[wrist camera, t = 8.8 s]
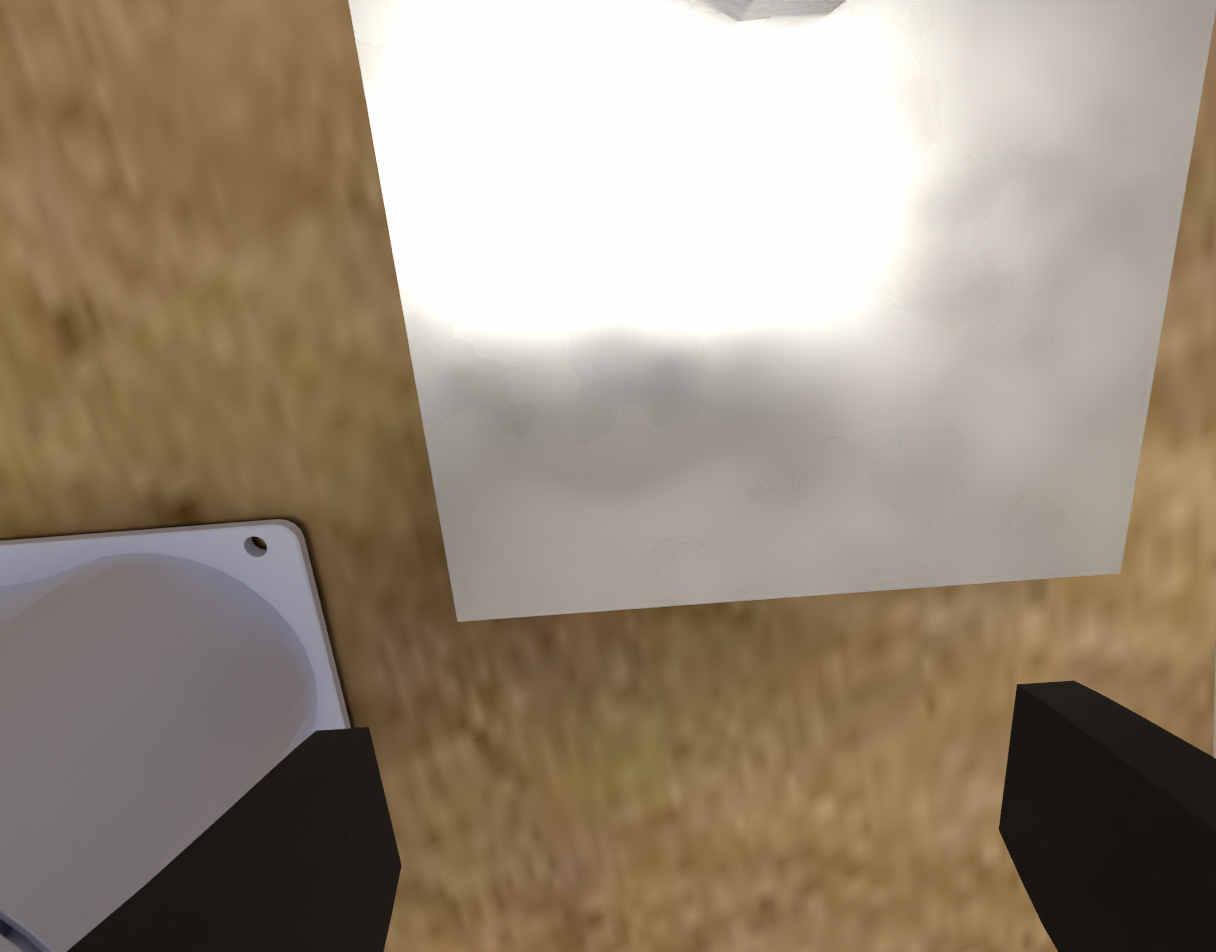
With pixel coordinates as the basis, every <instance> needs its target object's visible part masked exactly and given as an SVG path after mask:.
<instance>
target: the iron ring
mask: <svg viewBox="0 0 1216 952" xmlns="http://www.w3.org/2000/svg"><path fill="white" fill-rule="evenodd" d="M700 1H702V2H704V3H706V4H707V5H709V6H711V7H713V8H715V9H716V10H718V11H720V12H722V13H724V14H725V15H727V16H729V17H731V18H733V19H734V20H736V21H737V22H739V21H749V20H759V19H770V18H780V17H791V16H801V15H811V14H822V13H832V12H833V11H834V10H835V9H836V8H837V7H839V6H840V5H841V4H843V3H844V2H845V1H847V0H700Z"/></svg>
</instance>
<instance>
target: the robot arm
mask: <svg viewBox="0 0 1216 952" xmlns="http://www.w3.org/2000/svg"><path fill="white" fill-rule="evenodd" d="M252 536H255V537H259V538H261V539H262V540H264V541H265V543H266V545H267V550H264V549H259V548H258V547H256V546H255V545H254V543H253V541H252ZM999 831H1000V833H1001V836H1002V838H1003V840H1004V842H1005V845H1006V847H1007V849H1008V851H1009V854H1010V856H1011V858H1012V860H1013V863H1014V865H1015V867H1016V869H1017V871H1018V874H1019V876H1020V878H1021V880H1022V883H1023V885H1024V887H1025V889H1026V891H1027V893H1028V895H1029V897H1030V899H1031V901H1032V903H1033V906H1034V908H1035V910H1036V912H1037V914H1038V916H1039V918H1040V920H1041V922H1042V924H1043V926H1044V928H1045V930H1046V931H1047V933H1048V935H1049V937H1050V938H1051V940H1052V942H1053V943H1054V945H1055V947H1056V948H1057V950H1058V952H1216V759H1215V758H1214V757H1212V756H1210V755H1208V754H1207V753H1205V752H1203V751H1201V750H1200V749H1198V748H1196V747H1194V746H1193V745H1191V744H1189V743H1187V742H1186V741H1184V740H1182V739H1180V738H1179V737H1177V736H1175V735H1173V734H1172V733H1170V732H1168V731H1166V730H1164V729H1163V728H1161V727H1159V726H1157V725H1156V724H1154V723H1152V722H1150V721H1149V720H1147V719H1145V718H1143V717H1141V716H1140V715H1138V714H1136V713H1134V712H1133V711H1131V710H1129V709H1127V708H1125V707H1124V706H1122V705H1120V704H1118V703H1116V702H1114V701H1113V700H1111V699H1109V698H1107V697H1105V696H1103V695H1101V694H1099V693H1098V692H1096V691H1094V690H1092V689H1090V688H1088V687H1086V686H1084V685H1082V684H1080V683H1078V682H1076V681H1063V682H1048V683H1032V684H1017V689H1016V697H1015V705H1014V713H1013V721H1012V729H1011V737H1010V745H1009V753H1008V761H1007V769H1006V777H1005V785H1004V793H1003V801H1002V809H1001V817H1000V825H999ZM400 870H401V861H400V857H399V853H398V849H397V844H396V840H395V836H394V832H393V827H392V823H391V819H390V815H389V810H388V806H387V802H386V798H385V794H384V789H383V785H382V781H381V777H380V772H379V768H378V764H377V760H376V756H375V751H374V747H373V743H372V739H371V734H370V730H369V727H363V728H351V726H350V722H349V718H348V714H347V710H346V706H345V701H344V697H343V693H342V689H341V685H340V681H339V677H338V673H337V669H336V665H335V661H334V657H333V653H332V648H331V644H330V640H329V636H328V632H327V628H326V624H325V620H324V616H323V612H322V608H321V604H320V600H319V595H318V591H317V587H316V583H315V579H314V575H313V571H312V567H311V563H310V559H309V555H308V551H307V547H306V543H305V538H304V536H303V534H302V531H301V530H300V529H299V528H298V527H297V526H296V525H295V524H294V523H292V522H290V521H288V520H281V519H274V520H261V521H248V522H235V523H223V524H210V525H197V526H184V527H171V528H158V529H146V530H133V531H120V532H107V533H94V534H82V535H69V536H56V537H43V538H30V539H17V540H5V541H0V952H383V951H384V947H385V942H386V938H387V933H388V929H389V924H390V920H391V915H392V910H393V905H394V900H395V895H396V890H397V885H398V880H399V875H400Z"/></svg>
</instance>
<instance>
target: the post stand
mask: <svg viewBox="0 0 1216 952" xmlns="http://www.w3.org/2000/svg"><path fill="white" fill-rule="evenodd" d="M349 6H350V11H351V17H352V23H353V29H354V34H355V40H356V46H357V51H358V57H359V63H360V68H361V74H362V80H363V86H364V91H365V97H366V103H367V108H368V114H369V120H370V126H371V131H372V137H373V143H374V148H375V154H376V160H377V165H378V171H379V177H380V183H381V188H382V194H383V200H384V205H385V211H386V217H387V222H388V228H389V234H390V240H391V245H392V251H393V257H394V262H395V268H396V274H397V279H398V285H399V291H400V297H401V302H402V308H403V314H404V319H405V325H406V331H407V337H408V342H409V348H410V354H411V359H412V365H413V371H414V376H415V382H416V388H417V394H418V399H419V405H420V411H421V416H422V422H423V428H424V433H425V439H426V445H427V451H428V456H429V462H430V468H431V473H432V479H433V485H434V491H435V496H436V502H437V508H438V513H439V519H440V525H441V530H442V536H443V542H444V548H445V553H446V559H447V565H448V570H449V576H450V582H451V587H452V593H453V599H454V605H455V610H456V616H457V622H462V621H475V620H489V619H503V618H516V617H530V616H543V615H557V614H571V613H584V612H598V611H611V610H625V609H639V608H652V607H666V606H679V605H693V604H707V603H720V602H734V601H747V600H761V599H775V598H788V597H802V596H816V595H829V594H843V593H856V592H870V591H884V590H897V589H911V588H924V587H938V586H952V585H965V584H979V583H992V582H1006V581H1020V580H1033V579H1047V578H1060V577H1074V576H1088V575H1101V574H1115V573H1120V570H1121V564H1122V558H1123V552H1124V546H1125V541H1126V535H1127V529H1128V523H1129V517H1130V511H1131V505H1132V499H1133V494H1134V488H1135V482H1136V476H1137V470H1138V464H1139V458H1140V452H1141V447H1142V441H1143V435H1144V429H1145V423H1146V417H1147V411H1148V405H1149V400H1150V394H1151V388H1152V382H1153V376H1154V370H1155V364H1156V358H1157V353H1158V347H1159V341H1160V335H1161V329H1162V323H1163V317H1164V311H1165V306H1166V300H1167V294H1168V288H1169V282H1170V276H1171V270H1172V264H1173V259H1174V253H1175V247H1176V241H1177V235H1178V229H1179V223H1180V217H1181V212H1182V206H1183V200H1184V194H1185V188H1186V182H1187V176H1188V170H1189V165H1190V159H1191V153H1192V147H1193V141H1194V135H1195V129H1196V123H1197V118H1198V112H1199V106H1200V100H1201V94H1202V88H1203V82H1204V76H1205V71H1206V65H1207V59H1208V53H1209V47H1210V41H1211V35H1212V29H1213V24H1214V18H1215V12H1216V0H847V1H845V2H844V3H843V4H841V5H840V6H839V7H837V8H836V9H835V10H834V11H833V12H832V13H822V14H811V15H801V16H791V17H780V18H770V19H759V20H749V21H739V22H737V21H736V20H734V19H733V18H731V17H729V16H727V15H725V14H724V13H722V12H720V11H718V10H716V9H715V8H713V7H711V6H709V5H707V4H706V3H704V2H702V1H700V0H349Z"/></svg>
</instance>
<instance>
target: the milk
mask: <svg viewBox="0 0 1216 952" xmlns="http://www.w3.org/2000/svg"><path fill="white" fill-rule="evenodd" d="M1213 757H1214V758H1215V759H1216V641H1215V689H1214V740H1213Z"/></svg>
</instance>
